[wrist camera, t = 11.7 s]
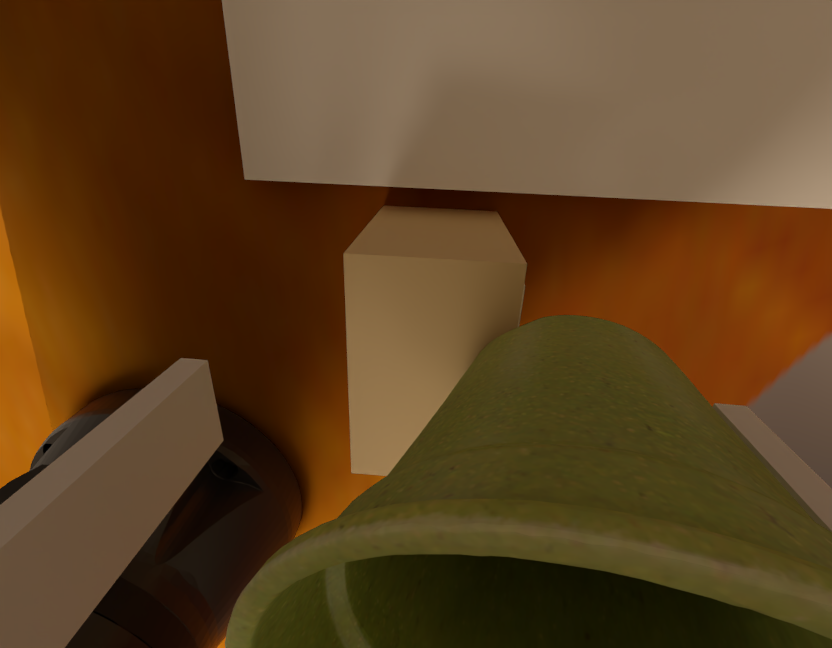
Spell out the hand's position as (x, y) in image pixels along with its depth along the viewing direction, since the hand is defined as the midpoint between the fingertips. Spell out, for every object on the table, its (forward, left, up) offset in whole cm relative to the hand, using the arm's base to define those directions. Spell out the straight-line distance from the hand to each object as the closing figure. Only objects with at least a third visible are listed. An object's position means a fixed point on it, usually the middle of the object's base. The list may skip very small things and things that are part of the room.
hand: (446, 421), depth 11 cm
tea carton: (-1, 0, -10) cm, 10 cm away
